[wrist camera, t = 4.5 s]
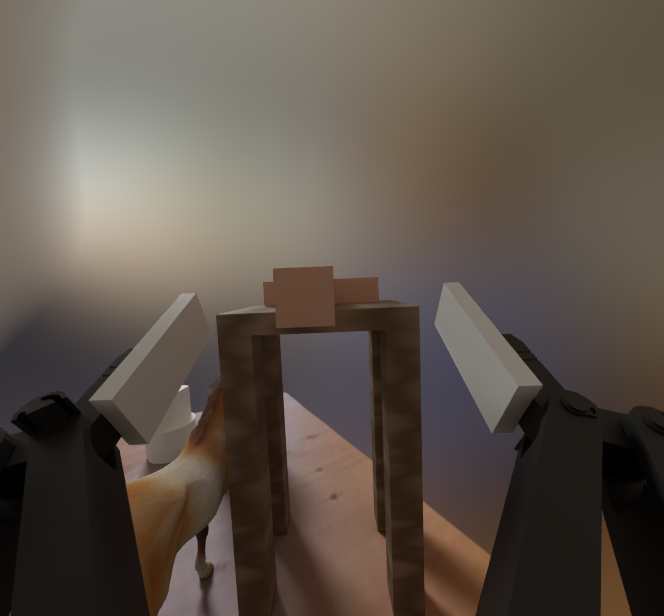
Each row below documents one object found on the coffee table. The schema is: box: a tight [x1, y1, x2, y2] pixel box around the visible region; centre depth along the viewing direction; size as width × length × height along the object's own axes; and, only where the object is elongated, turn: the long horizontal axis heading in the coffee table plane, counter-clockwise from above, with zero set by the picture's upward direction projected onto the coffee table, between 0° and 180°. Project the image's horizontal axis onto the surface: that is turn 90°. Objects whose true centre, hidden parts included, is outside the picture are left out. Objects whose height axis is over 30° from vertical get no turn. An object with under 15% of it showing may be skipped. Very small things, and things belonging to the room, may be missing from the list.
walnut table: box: [216, 300, 425, 616], centre depth 30 cm, size 18×12×30 cm, turn 90°
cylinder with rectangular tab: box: [146, 385, 196, 464], centre depth 54 cm, size 9×9×12 cm
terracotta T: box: [263, 266, 379, 328], centre depth 24 cm, size 14×22×3 cm, turn 0°
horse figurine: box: [126, 376, 229, 616], centre depth 24 cm, size 31×8×21 cm, turn 170°
